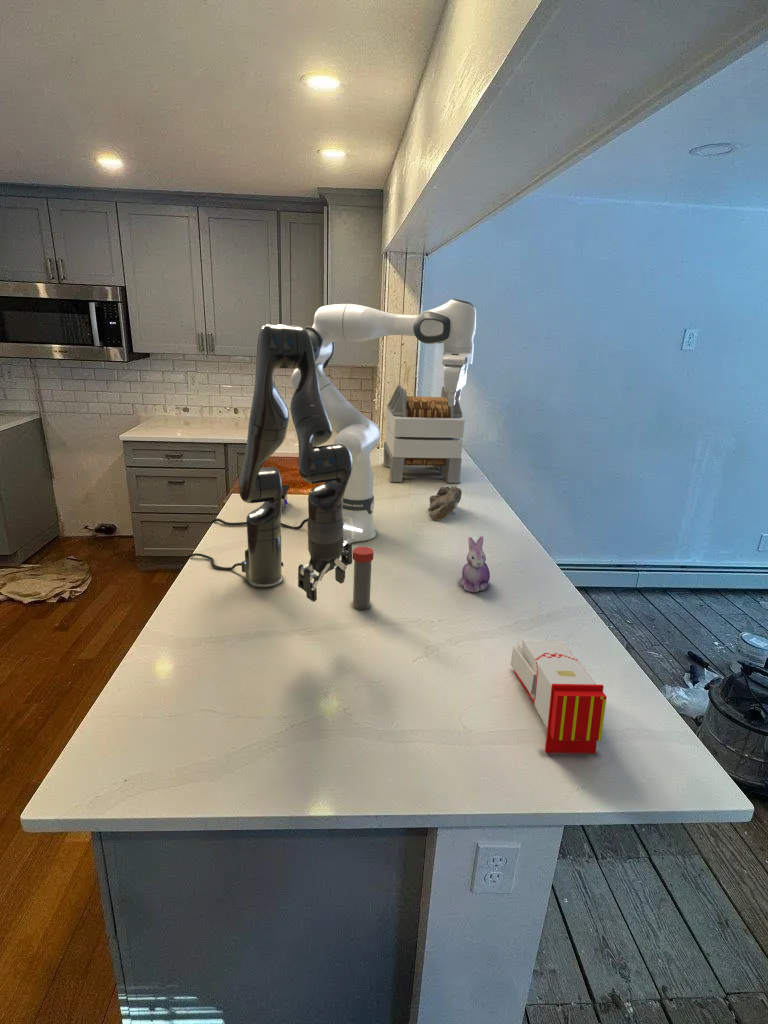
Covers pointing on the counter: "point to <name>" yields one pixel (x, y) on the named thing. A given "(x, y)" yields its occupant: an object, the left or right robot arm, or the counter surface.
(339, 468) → the left robot arm
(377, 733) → the counter surface
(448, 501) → the fossil
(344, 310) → the right robot arm
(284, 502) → the figurine character
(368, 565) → the cylinder
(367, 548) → the lid
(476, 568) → the figurine
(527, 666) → the toy
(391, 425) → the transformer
